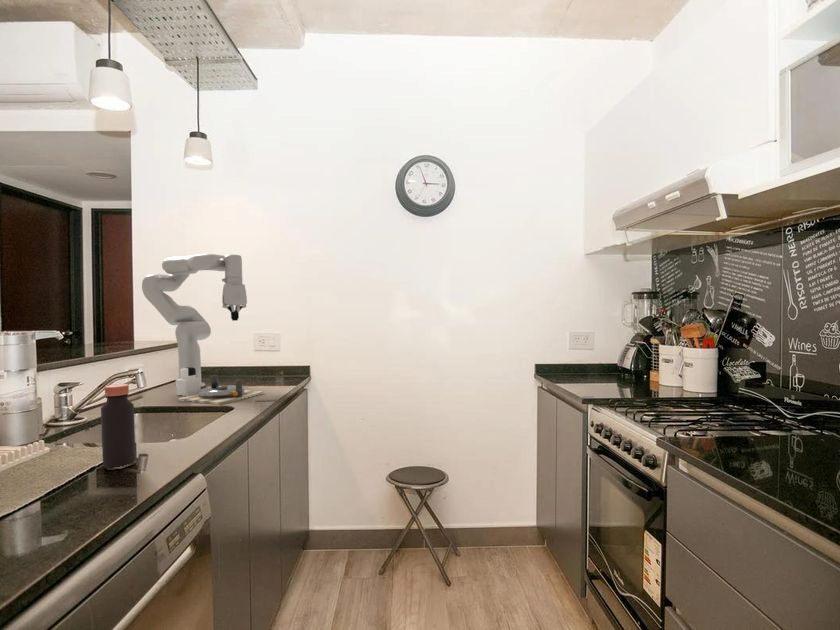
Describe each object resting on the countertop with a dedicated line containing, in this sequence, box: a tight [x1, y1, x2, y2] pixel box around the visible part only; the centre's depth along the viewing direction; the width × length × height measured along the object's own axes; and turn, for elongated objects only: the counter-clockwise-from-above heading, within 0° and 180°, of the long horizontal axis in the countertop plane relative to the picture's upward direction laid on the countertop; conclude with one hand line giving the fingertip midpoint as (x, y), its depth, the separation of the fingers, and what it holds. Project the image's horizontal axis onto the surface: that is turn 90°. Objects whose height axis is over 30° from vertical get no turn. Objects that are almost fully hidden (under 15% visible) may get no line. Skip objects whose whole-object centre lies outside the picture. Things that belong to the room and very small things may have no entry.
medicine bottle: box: [175, 367, 202, 397], centre depth 208 cm, size 7×7×12 cm
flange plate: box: [199, 375, 245, 397], centre depth 200 cm, size 18×20×6 cm
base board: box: [177, 379, 265, 406], centre depth 201 cm, size 24×24×8 cm
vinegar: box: [100, 383, 137, 468], centre depth 116 cm, size 7×7×20 cm
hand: (235, 320), depth 221 cm, fingers closed
